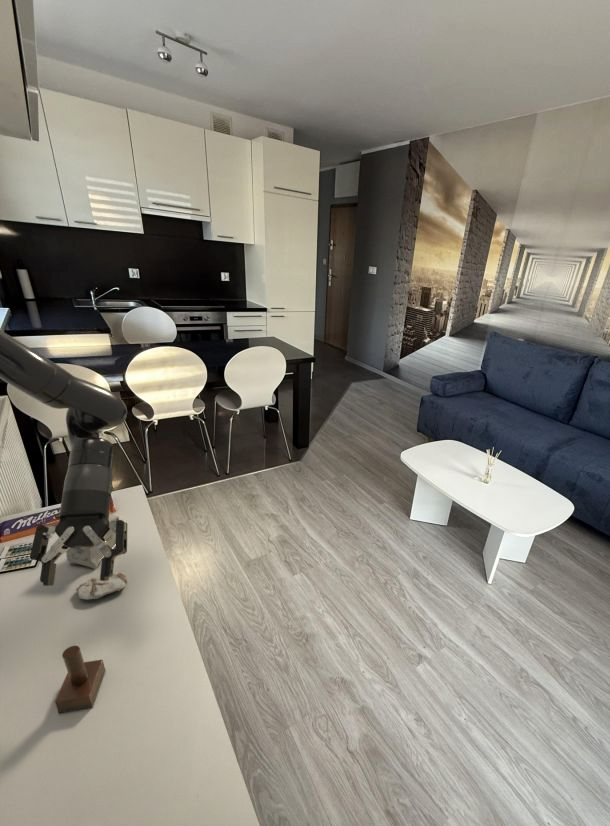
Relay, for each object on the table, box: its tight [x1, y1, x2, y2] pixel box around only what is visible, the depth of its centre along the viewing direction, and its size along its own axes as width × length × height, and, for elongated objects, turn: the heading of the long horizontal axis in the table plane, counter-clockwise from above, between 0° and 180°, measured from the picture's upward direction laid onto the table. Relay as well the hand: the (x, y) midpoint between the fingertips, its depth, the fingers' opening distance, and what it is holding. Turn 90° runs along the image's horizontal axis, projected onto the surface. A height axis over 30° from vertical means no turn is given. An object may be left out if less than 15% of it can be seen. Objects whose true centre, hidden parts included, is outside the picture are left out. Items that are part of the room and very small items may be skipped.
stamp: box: [54, 645, 107, 714], centre depth 68 cm, size 5×7×10 cm
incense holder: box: [65, 513, 120, 570], centre depth 99 cm, size 10×8×10 cm
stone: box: [75, 571, 128, 601], centre depth 90 cm, size 10×7×3 cm
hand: (76, 583), depth 69 cm, fingers open, 8 cm apart
